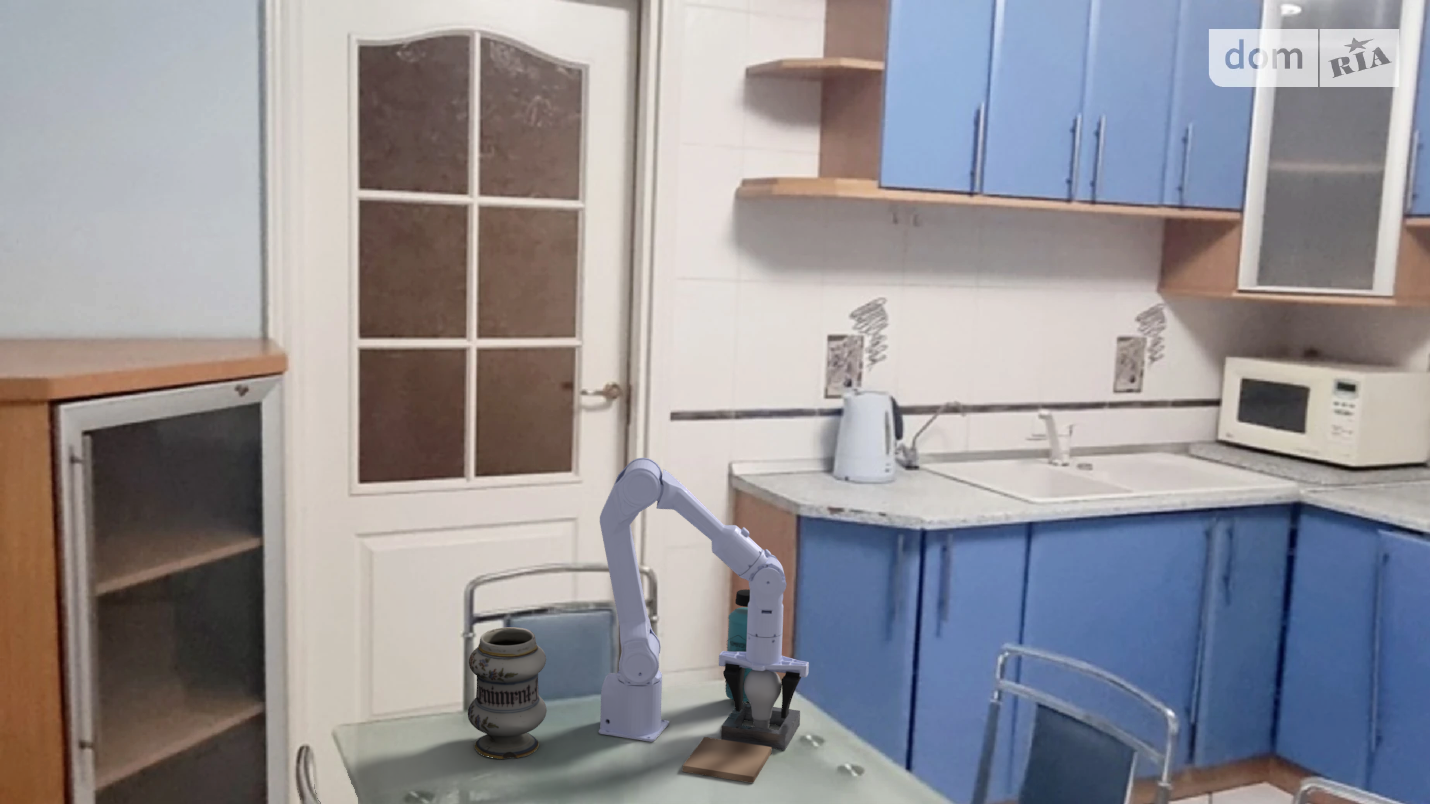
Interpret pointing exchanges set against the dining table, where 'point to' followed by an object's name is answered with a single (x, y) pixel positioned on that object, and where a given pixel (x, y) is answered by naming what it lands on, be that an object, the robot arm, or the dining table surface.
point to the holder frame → (761, 736)
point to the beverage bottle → (738, 632)
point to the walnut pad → (727, 759)
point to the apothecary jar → (507, 692)
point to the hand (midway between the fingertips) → (761, 712)
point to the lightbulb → (762, 695)
